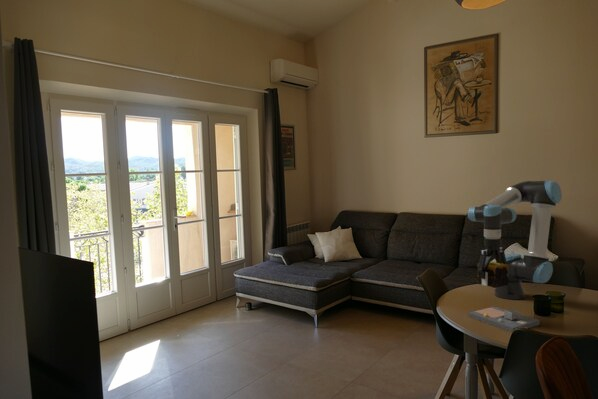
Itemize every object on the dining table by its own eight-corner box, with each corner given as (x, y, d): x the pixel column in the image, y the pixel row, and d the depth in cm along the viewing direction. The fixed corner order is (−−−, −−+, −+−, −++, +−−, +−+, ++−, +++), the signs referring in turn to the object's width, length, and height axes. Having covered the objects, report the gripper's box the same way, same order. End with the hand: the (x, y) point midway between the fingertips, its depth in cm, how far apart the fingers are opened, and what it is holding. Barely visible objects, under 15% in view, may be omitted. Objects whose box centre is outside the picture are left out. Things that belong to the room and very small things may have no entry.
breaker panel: (468, 316, 205) (468, 310, 205) (494, 310, 213) (494, 303, 213) (512, 332, 184) (512, 325, 184) (539, 324, 192) (539, 317, 191)
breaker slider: (504, 317, 195) (504, 309, 195) (510, 315, 197) (510, 308, 197) (511, 319, 192) (511, 312, 192) (517, 318, 194) (517, 310, 193)
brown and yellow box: (494, 288, 196) (494, 267, 196) (476, 283, 205) (476, 263, 205) (509, 285, 201) (509, 264, 200) (490, 280, 210) (490, 260, 209)
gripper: (482, 241, 193) (482, 289, 195) (515, 236, 203) (515, 282, 205) (468, 239, 200) (469, 285, 201) (502, 234, 210) (502, 279, 211)
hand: (492, 283), depth 203 cm, fingers closed on brown and yellow box, 10 cm apart
